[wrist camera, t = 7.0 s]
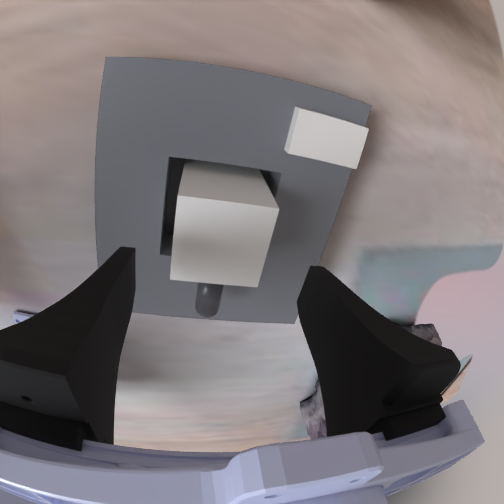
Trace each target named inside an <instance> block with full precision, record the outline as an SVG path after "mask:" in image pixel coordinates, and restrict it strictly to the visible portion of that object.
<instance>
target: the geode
mask: <svg viewBox="0 0 504 504" xmlns="http://www.w3.org/2000/svg"><path fill="white" fill-rule="evenodd" d="M398 326H400V325H398ZM400 327H402V328H403V329H405V330H407V331H409V332H410V333H412V334H414V335H416V336H418V337H420V338H422V339H425V340H427V341H429V342H431V343H434V344H437V345H439V346H441V345H442V342H441V339H440V338H439V334H438V333H437V331H436V329H435V327H434V325H433V324H419V325H412V326H408V327H406V326H404V325H403V326H400ZM315 388H316V389H317V391H316V392H315V393H314V395H313V396H312V397H311V398H310V399H308V400H306V401H303V402H300V409H301V411H302V416H303V417H304V419H305V421H306V423H307V431H308V435H309V436H310V438H311V439H318V438H325V437H327V431H326V421H325V413H324V406H323V400H322V394H321V388H320V383H319V379H318V381H317V382H316V385H315Z"/></svg>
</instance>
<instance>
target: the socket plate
mask: <svg viewBox="0 0 504 504" xmlns="http://www.w3.org/2000/svg"><path fill="white" fill-rule="evenodd" d="M370 109H371V105H369V104H366V103H363V102H360V101H358V100H355V99H352V98H349V97H346V96H343V95H340V94H337V93H334V92H331V91H327V90H324V89H321V88H317V87H314V86H310V85H307V84H303V83H300V82H296V81H292V80H288V79H284V78H280V77H276V76H271V75H267V74H262V73H257V72H253V71H247V70H242V69H237V68H231V67H225V66H219V65H212V64H205V63H197V62H189V61H180V60H169V59H156V58H139V57H106V60H105V66H104V72H103V79H102V86H101V94H100V103H99V113H98V124H97V138H96V157H95V225H96V245H97V259H98V268H99V267H100V266H101V265H102V264H103V263H104V262H105V261H106V260H107V259H108V258H109V257H110V256H111V255H112V254H113V253H114V252H115V251H116V250H117V249H118V248H119V247H121V246H122V247H132V248H136V261H135V263H136V291H135V297H134V303H133V309H132V312H135V313H144V314H154V315H164V316H174V317H185V318H197V319H210V320H225V321H242V322H261V323H288V324H294V323H295V321H296V319H297V316H298V308H297V299H298V297H299V294H300V291H301V289H302V286H303V284H304V281H305V278H306V276H307V273H308V270H309V268H310V266H318V264H319V261H320V259H321V256H322V253H323V251H324V248H325V245H326V243H327V240H328V237H329V235H330V232H331V229H332V226H333V224H334V221H335V218H336V215H337V212H338V210H339V207H340V204H341V201H342V198H343V195H344V192H345V189H346V186H347V183H348V180H349V177H350V174H351V171H352V168H353V169H357V166H358V163H359V160H360V157H361V153H362V150H363V147H364V144H365V141H366V137H367V134H368V131H369V128H366V127H365V126H366V123H367V120H368V116H369V113H370ZM185 159H193V160H201V161H209V162H216V163H223V164H230V165H237V166H243V167H250V168H256V169H259V170H260V172H261V174H262V176H263V178H264V180H265V182H266V184H267V185H268V187H269V189H270V191H271V193H272V195H273V197H274V199H275V201H276V203H277V205H278V207H279V212H278V216H277V220H276V223H275V227H274V230H273V234H272V238H271V241H270V245H269V248H268V252H267V256H266V259H265V263H264V266H263V270H262V273H261V277H260V280H259V284H258V287H246V286H234V285H224V286H223V291H222V296H221V301H220V306H219V310H218V312H217V314H216V315H215V316H213V317H211V318H204V317H202V316H200V315H199V314H198V313H197V311H196V309H195V301H196V294H197V286H198V282H189V281H179V280H170V270H171V257H172V245H173V234H174V224H175V215H176V206H177V197H178V191H179V187H180V182H181V177H182V172H183V168H184V163H185Z"/></svg>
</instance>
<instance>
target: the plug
mask: <svg viewBox="0 0 504 504" xmlns="http://www.w3.org/2000/svg"><path fill="white" fill-rule="evenodd" d="M278 212H279V207H278V205H277V203H276V201H275V199H274V197H273V195H272V193H271V191H270V189H269V187H268V185H267V184H266V182H265V180H264V178H263V176H262V174H261V172H260V170H259V169H256V168H250V167H243V166H237V165H230V164H223V163H216V162H209V161H201V160H193V159H185V163H184V168H183V172H182V177H181V182H180V187H179V191H178V197H177V206H176V215H175V224H174V234H173V245H172V257H171V270H170V280H179V281H189V282H198V286H197V294H196V301H195V309H196V311H197V313H198V314H199V315H200V316H202V317H204V318H211V317H213V316H215V315H216V314H217V312H218V310H219V306H220V301H221V296H222V291H223V286H224V285H234V286H246V287H258V284H259V280H260V277H261V273H262V270H263V266H264V263H265V259H266V256H267V252H268V248H269V245H270V241H271V238H272V234H273V230H274V227H275V223H276V220H277V216H278Z"/></svg>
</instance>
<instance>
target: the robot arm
mask: <svg viewBox="0 0 504 504" xmlns="http://www.w3.org/2000/svg"><path fill="white" fill-rule="evenodd" d="M135 261H136V248H132V247H122V246H121V247H119V248H118V249H117V250H116V251H115V252H114V253H113V254H112V255H111V256H110V257H109V258H108V259H107V260H106V261H105V262H104V263H103V264H102V265H101V266H100V267H99V268H98V269H97V270H96V271H95V272H94V273H93V274H92V275H91V276H90V277H89V278H88V279H86V280H85V281H84V282H83V283H82V284H81V285H80V286H79V287H77V288H76V289H75V290H74V291H72V292H71V293H70V294H68V295H67V296H65V297H64V298H63V299H61V300H60V301H58V302H56V303H55V304H53V305H52V306H50V307H48V308H47V309H45V310H43V311H42V312H40V313H38V314H36V315H31V314H27V313H22V312H17V311H14V312H13V314H12V316H13V319H14V322H15V325H12V326H10V327H7V328H4V329H2V330H0V504H387V501H386V498H385V497H386V496H389V495H391V494H394V493H396V492H398V491H401V490H403V489H405V488H408V487H410V486H412V485H414V484H417V483H419V482H421V481H423V480H425V479H427V478H429V477H431V476H433V475H435V474H437V473H439V472H441V471H443V470H445V469H447V468H449V467H451V466H452V465H453V464H455V463H457V462H458V461H460V460H461V459H462V458H464V457H465V456H467V455H468V454H470V453H471V452H472V451H473V450H475V449H476V448H477V447H479V446H480V445H482V444H483V443H484V441H485V440H484V438H483V436H482V434H481V432H480V430H479V429H478V427H477V425H476V423H475V421H474V419H473V417H472V415H471V413H470V411H469V409H468V408H467V406H466V404H465V402H464V400H460V401H457V402H454V403H452V404H449V405H447V406H445V407H444V408H442V407H441V405H440V403H441V402H442V401H443V398H442V396H441V394H440V393H441V392H442V391H443V390H444V389H445V388H446V387H447V386H448V385H449V384H450V383H451V381H452V380H453V379H454V378H455V377H456V375H457V374H458V372H459V370H460V366H461V364H460V361H459V360H458V358H457V357H456V355H455V354H454V352H453V351H452V350H450V349H447V348H445V347H442V346H439V345H437V344H434V343H431V342H429V341H427V340H425V339H422V338H420V337H418V336H416V335H414V334H412V333H410V332H409V331H407V330H405V329H403V328H402V327H400V326H398V325H396V324H395V323H393V322H392V321H390V320H389V319H387V318H386V317H384V316H383V315H381V314H380V313H379V312H377V311H376V310H374V309H373V308H372V307H371V306H369V305H368V304H367V303H366V302H364V301H363V300H362V299H361V298H360V297H358V296H357V295H356V294H355V293H354V292H353V291H351V290H350V289H349V288H348V287H347V286H346V285H345V284H343V283H342V282H341V281H340V280H339V279H338V278H337V277H335V276H334V275H333V274H332V273H331V272H329V271H328V270H327V269H325V268H324V267H320V266H310V268H309V270H308V273H307V276H306V278H305V281H304V284H303V286H302V289H301V291H300V294H299V297H298V299H297V308H298V314H299V318H300V323H301V326H302V329H303V332H304V334H305V337H306V340H307V343H308V346H309V349H310V352H311V354H312V357H313V360H314V363H315V366H316V370H317V374H318V379H319V383H320V388H321V394H322V400H323V406H324V413H325V421H326V431H327V437H325V438H318V439H311V440H303V441H294V442H284V443H275V444H269V445H262V446H257V447H254V448H250V449H247V450H244V451H241V452H180V451H164V450H152V449H142V448H133V447H125V446H118V445H114V409H115V395H116V383H117V374H118V366H119V360H120V355H121V351H122V347H123V343H124V339H125V335H126V332H127V328H128V324H129V321H130V317H131V313H132V309H133V303H134V297H135V291H136V263H135Z"/></svg>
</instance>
